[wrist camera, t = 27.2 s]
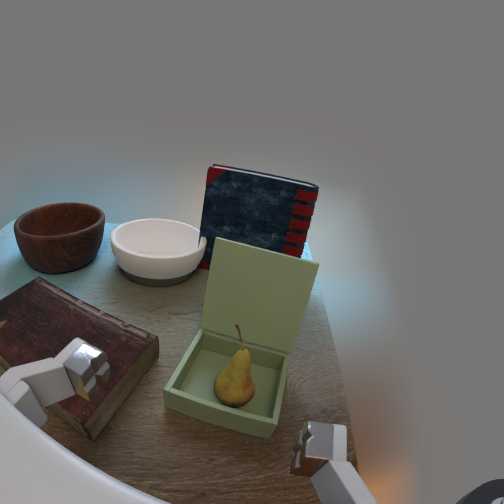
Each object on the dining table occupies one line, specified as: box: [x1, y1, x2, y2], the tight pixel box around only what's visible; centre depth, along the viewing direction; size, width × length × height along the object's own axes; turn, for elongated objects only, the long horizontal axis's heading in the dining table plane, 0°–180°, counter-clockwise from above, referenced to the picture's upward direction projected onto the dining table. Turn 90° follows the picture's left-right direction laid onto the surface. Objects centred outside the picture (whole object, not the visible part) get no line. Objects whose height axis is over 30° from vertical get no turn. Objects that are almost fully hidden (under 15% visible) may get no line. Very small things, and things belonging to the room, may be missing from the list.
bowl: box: [111, 219, 207, 287], centre depth 64 cm, size 22×22×8 cm
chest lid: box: [200, 237, 319, 353], centre depth 42 cm, size 14×15×5 cm
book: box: [197, 164, 319, 270], centre depth 67 cm, size 25×7×25 cm, turn 87°
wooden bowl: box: [14, 203, 105, 273], centre depth 58 cm, size 25×25×10 cm
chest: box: [164, 328, 290, 439], centre depth 37 cm, size 14×15×4 cm
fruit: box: [214, 324, 255, 408], centre depth 33 cm, size 6×6×12 cm
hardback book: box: [0, 277, 159, 441], centre depth 34 cm, size 29×19×5 cm, turn 76°
